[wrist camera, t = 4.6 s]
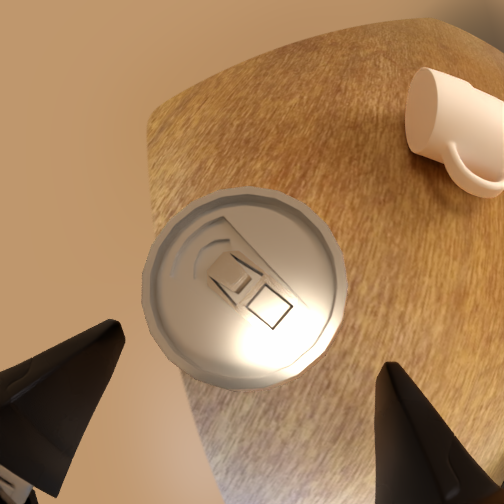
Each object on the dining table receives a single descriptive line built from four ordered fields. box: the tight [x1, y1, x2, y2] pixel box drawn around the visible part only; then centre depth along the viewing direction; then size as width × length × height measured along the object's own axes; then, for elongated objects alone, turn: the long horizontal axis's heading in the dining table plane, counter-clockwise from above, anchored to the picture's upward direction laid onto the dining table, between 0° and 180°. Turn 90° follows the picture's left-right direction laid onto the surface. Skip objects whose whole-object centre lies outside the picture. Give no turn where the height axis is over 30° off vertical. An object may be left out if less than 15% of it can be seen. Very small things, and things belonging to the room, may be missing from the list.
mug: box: [405, 67, 504, 198], centre depth 16 cm, size 12×9×8 cm
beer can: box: [142, 186, 348, 392], centre depth 12 cm, size 5×5×12 cm
